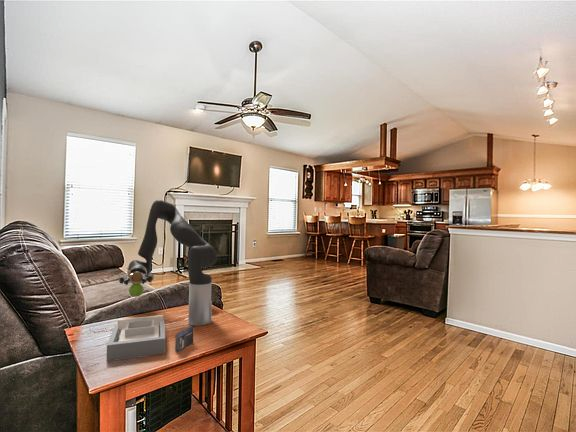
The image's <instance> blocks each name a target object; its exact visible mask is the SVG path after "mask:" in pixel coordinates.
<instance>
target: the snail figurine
mask: <svg viewBox="0 0 576 432" xmlns="http://www.w3.org/2000/svg"><path fill="white" fill-rule="evenodd" d="M128 269H129V268H128V267H126V275H128V278H129V281H130V282H131V283H130V284H131V285H130V287H129V288H128V294H129V295H130V296H132V297H135V298H137V297H140V296H141V295H142V294H143V293H144V286H143V284H142V281H141V280H142V278H143V276H142V274H141V273H140V272H134V273H133V274H132V276H131V274H130V273H131V271H129V270H128ZM132 283H133V284H132ZM140 283H141V284H140Z"/></svg>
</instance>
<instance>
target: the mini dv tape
mask: <svg viewBox="0 0 576 432" xmlns="http://www.w3.org/2000/svg"><path fill="white" fill-rule="evenodd" d="M174 344H175V346H174V347H175V348H174V349H175V350H174V351H175V352H176V353H180V352H182V351H183V350H185V349H186V348H189V346H191V345H193V344H194V327H193V326H192V325H189V326H188V327H186V328H185V329H183V330H180V331H178V332H177V333H175V342H174Z"/></svg>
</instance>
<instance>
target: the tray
mask: <svg viewBox="0 0 576 432" xmlns="http://www.w3.org/2000/svg"><path fill="white" fill-rule="evenodd" d="M160 321H164V314H159V315H149V316H138V317H128V318H126V317H125V318H118V319H117V326H119V331H120V333H119V340H118V342H120V341H128V340H137V339H145V338H154V337H160Z"/></svg>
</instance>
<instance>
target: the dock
mask: <svg viewBox="0 0 576 432" xmlns="http://www.w3.org/2000/svg"><path fill="white" fill-rule="evenodd" d="M111 331H112V332H111V334H110V336H109V339H108V342H107V344H106V362H111V361H118V360H124V359H125V360H126V359H132V358H139V357H140V358H141V357H149V356H155V355H162V354H166V330H165V320H163V321H160V326H159V337H154V338H145V339H137V340H128V341H120V342H118V340H119V337H120V330H119V326H118V325H114V327H113V329H112V330H111Z"/></svg>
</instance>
